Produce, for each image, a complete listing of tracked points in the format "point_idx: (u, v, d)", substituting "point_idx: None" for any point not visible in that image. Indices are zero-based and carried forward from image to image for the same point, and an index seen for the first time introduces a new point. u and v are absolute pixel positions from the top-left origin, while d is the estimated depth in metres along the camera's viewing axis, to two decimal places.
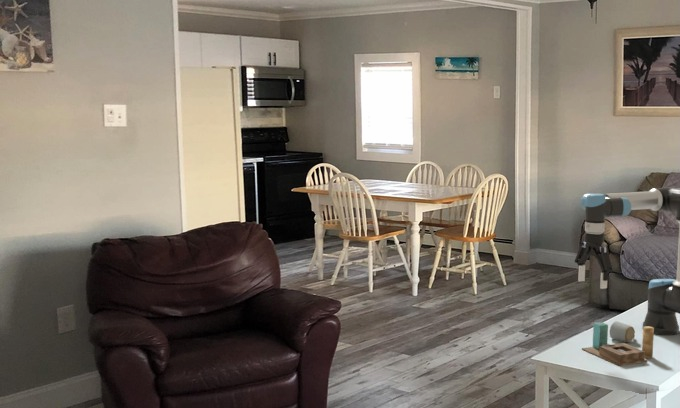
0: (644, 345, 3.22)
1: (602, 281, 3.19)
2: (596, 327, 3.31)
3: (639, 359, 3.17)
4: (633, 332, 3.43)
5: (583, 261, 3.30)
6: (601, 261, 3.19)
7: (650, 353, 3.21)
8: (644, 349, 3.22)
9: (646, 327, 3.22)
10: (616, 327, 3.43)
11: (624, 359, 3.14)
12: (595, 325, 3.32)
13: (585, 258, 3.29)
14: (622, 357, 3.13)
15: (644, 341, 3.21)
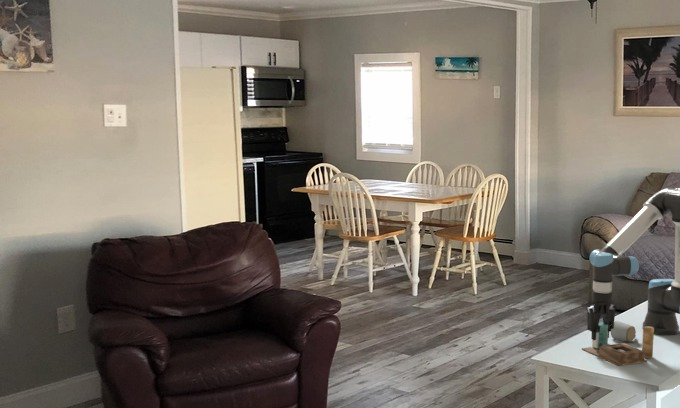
0: (644, 345, 3.22)
1: (593, 339, 3.32)
2: None
3: (639, 359, 3.17)
4: (634, 332, 3.43)
5: None
6: None
7: (650, 353, 3.21)
8: (644, 349, 3.22)
9: (646, 327, 3.22)
10: (617, 327, 3.44)
11: (624, 359, 3.14)
12: None
13: (604, 320, 3.32)
14: (622, 357, 3.13)
15: (644, 341, 3.21)
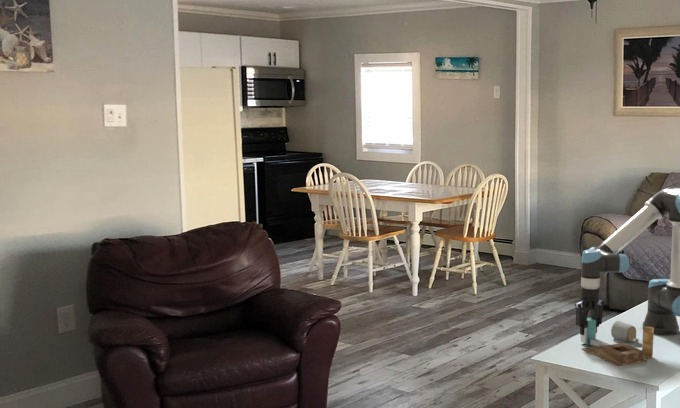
0: (644, 345, 3.22)
1: (581, 335, 3.39)
2: None
3: (639, 359, 3.17)
4: (635, 332, 3.43)
5: None
6: (582, 316, 3.38)
7: (650, 353, 3.21)
8: (644, 349, 3.22)
9: (646, 327, 3.22)
10: (618, 327, 3.44)
11: (624, 359, 3.14)
12: None
13: (592, 315, 3.39)
14: (622, 357, 3.13)
15: (644, 341, 3.21)
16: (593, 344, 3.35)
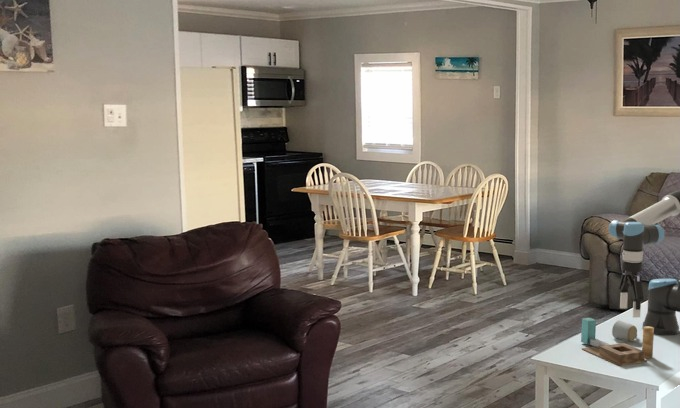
0: (644, 345, 3.22)
1: (634, 310, 3.19)
2: (584, 322, 3.38)
3: (639, 359, 3.17)
4: (635, 331, 3.44)
5: (625, 288, 3.31)
6: (635, 290, 3.19)
7: (650, 353, 3.21)
8: (644, 349, 3.22)
9: (646, 327, 3.22)
10: (619, 326, 3.44)
11: (624, 359, 3.14)
12: (583, 320, 3.39)
13: (626, 286, 3.29)
14: (622, 357, 3.13)
15: (644, 341, 3.21)
16: (593, 344, 3.35)
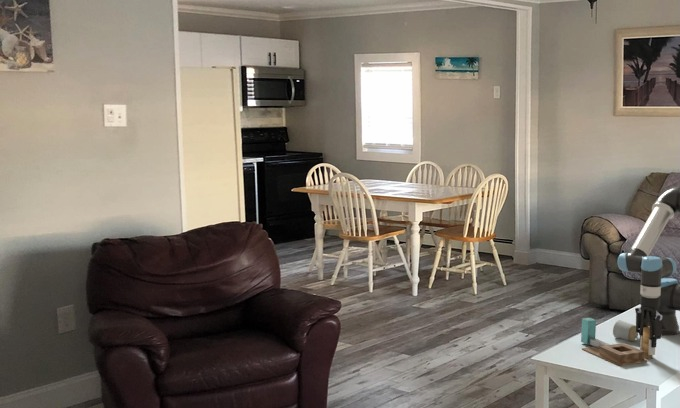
0: (644, 345, 3.22)
1: (650, 348, 3.20)
2: (584, 322, 3.38)
3: (639, 359, 3.17)
4: None
5: None
6: (653, 327, 3.19)
7: None
8: (644, 349, 3.22)
9: (646, 327, 3.22)
10: (619, 326, 3.45)
11: (624, 359, 3.14)
12: (583, 320, 3.39)
13: (645, 325, 3.23)
14: (622, 357, 3.13)
15: (644, 341, 3.21)
16: (593, 344, 3.35)
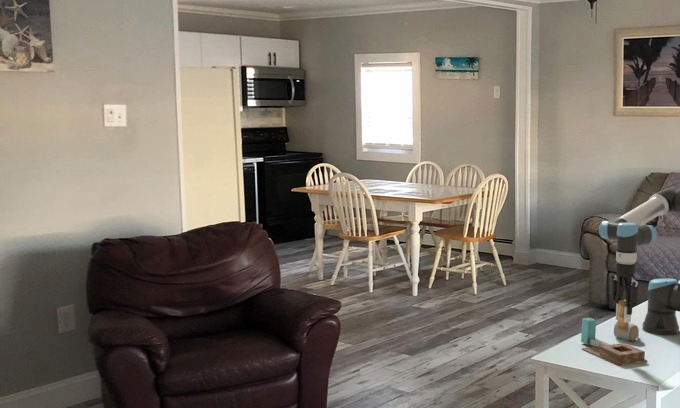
0: (619, 318, 3.18)
1: (626, 315, 3.16)
2: (584, 322, 3.38)
3: (639, 359, 3.17)
4: (637, 331, 3.44)
5: (620, 296, 3.20)
6: (628, 294, 3.14)
7: (625, 327, 3.17)
8: (619, 323, 3.18)
9: (621, 300, 3.18)
10: None
11: (624, 359, 3.14)
12: (583, 320, 3.39)
13: (620, 292, 3.19)
14: (622, 357, 3.13)
15: (619, 314, 3.18)
16: (593, 344, 3.35)
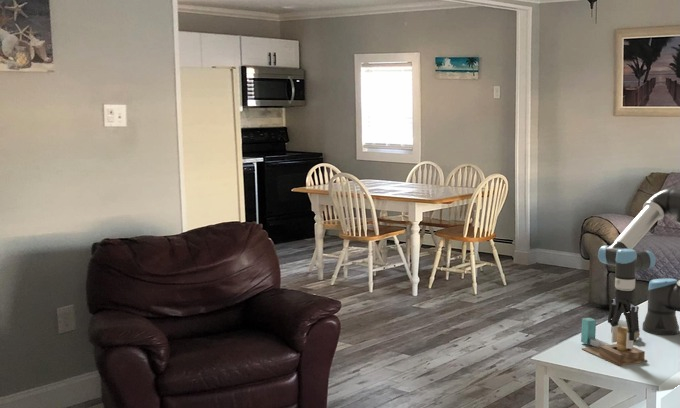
0: (618, 345, 3.19)
1: (628, 341, 3.15)
2: (584, 322, 3.38)
3: (639, 359, 3.17)
4: None
5: (616, 320, 3.23)
6: (629, 320, 3.15)
7: None
8: (618, 349, 3.19)
9: (620, 327, 3.20)
10: (621, 325, 3.45)
11: (624, 359, 3.14)
12: (583, 320, 3.39)
13: (617, 316, 3.22)
14: (622, 357, 3.13)
15: (618, 341, 3.19)
16: (593, 344, 3.35)
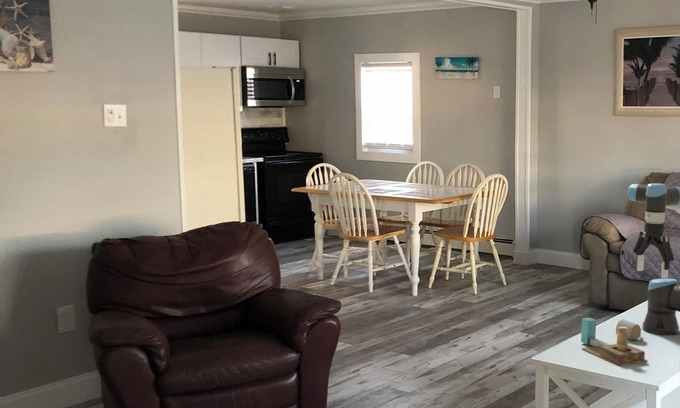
0: (618, 345, 3.19)
1: (663, 270, 3.21)
2: (584, 322, 3.38)
3: (639, 359, 3.17)
4: (639, 330, 3.45)
5: (642, 251, 3.32)
6: (662, 250, 3.21)
7: None
8: (618, 349, 3.19)
9: (620, 327, 3.20)
10: (622, 325, 3.46)
11: (624, 359, 3.14)
12: (583, 320, 3.39)
13: (644, 248, 3.31)
14: (622, 357, 3.13)
15: (618, 341, 3.19)
16: (593, 344, 3.35)
